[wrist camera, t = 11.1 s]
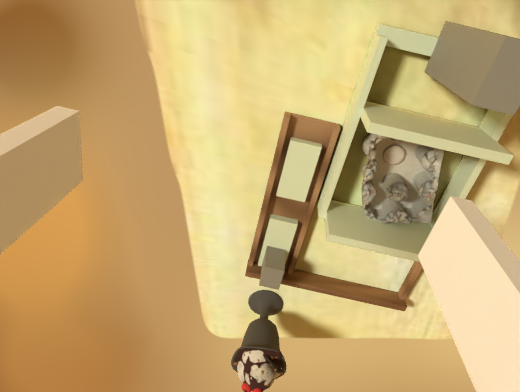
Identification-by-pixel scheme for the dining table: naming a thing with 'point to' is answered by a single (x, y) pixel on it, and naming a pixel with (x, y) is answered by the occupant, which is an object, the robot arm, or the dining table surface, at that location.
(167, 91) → the dining table surface
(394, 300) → the frame
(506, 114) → the sage green shelf unit
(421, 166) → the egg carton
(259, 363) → the sundae
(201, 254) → the dining table surface
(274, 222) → the broken strip
